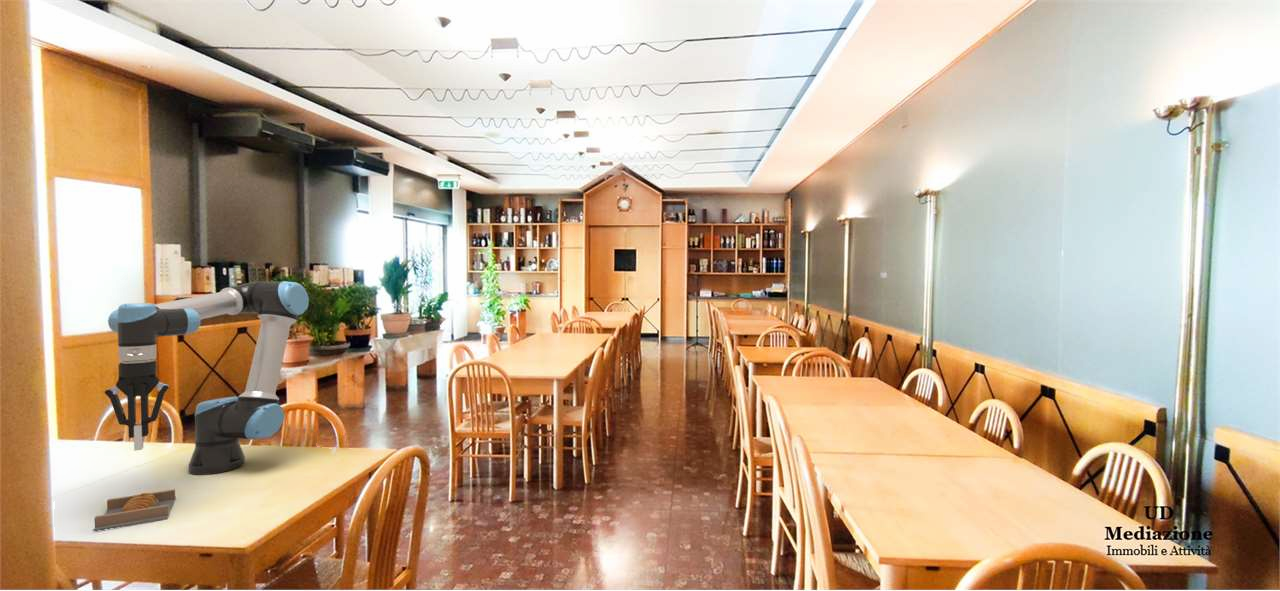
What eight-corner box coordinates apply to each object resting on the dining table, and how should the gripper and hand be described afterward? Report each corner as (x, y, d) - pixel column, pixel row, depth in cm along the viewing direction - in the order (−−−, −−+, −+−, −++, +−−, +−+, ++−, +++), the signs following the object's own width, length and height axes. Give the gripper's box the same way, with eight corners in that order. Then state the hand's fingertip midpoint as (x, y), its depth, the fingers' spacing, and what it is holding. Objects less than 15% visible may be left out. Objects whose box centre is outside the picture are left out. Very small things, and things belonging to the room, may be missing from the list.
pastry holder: (175, 498, 158) (175, 487, 158) (167, 519, 144) (167, 507, 144) (109, 509, 150) (109, 497, 150) (93, 532, 136) (93, 519, 136)
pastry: (149, 516, 144) (149, 501, 144) (115, 521, 141) (115, 506, 141) (159, 503, 153) (159, 490, 152) (127, 508, 149) (127, 494, 149)
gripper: (100, 364, 140) (101, 456, 140) (167, 361, 147) (168, 448, 148) (107, 361, 146) (108, 449, 147) (171, 357, 153) (172, 441, 154)
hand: (138, 448), depth 147 cm, fingers closed
